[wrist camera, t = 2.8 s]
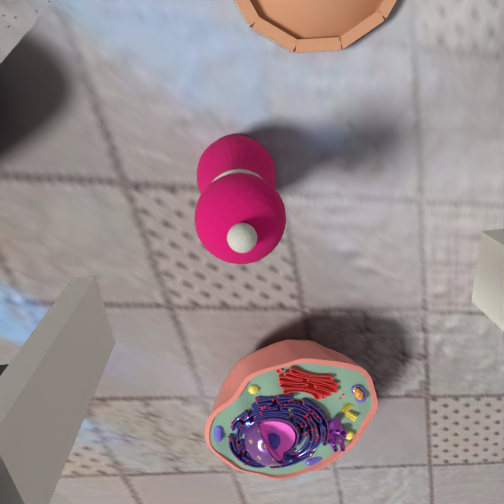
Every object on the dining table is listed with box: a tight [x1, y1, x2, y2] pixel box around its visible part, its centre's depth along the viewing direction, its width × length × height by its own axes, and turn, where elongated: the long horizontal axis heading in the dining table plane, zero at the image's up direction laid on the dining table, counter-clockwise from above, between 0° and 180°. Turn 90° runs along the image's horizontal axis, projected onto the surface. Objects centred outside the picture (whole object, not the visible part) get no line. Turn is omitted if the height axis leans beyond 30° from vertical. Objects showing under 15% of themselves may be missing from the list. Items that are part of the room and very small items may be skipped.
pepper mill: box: [195, 134, 286, 264], centre depth 32 cm, size 7×7×20 cm
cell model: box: [205, 339, 378, 479], centre depth 48 cm, size 17×20×11 cm
